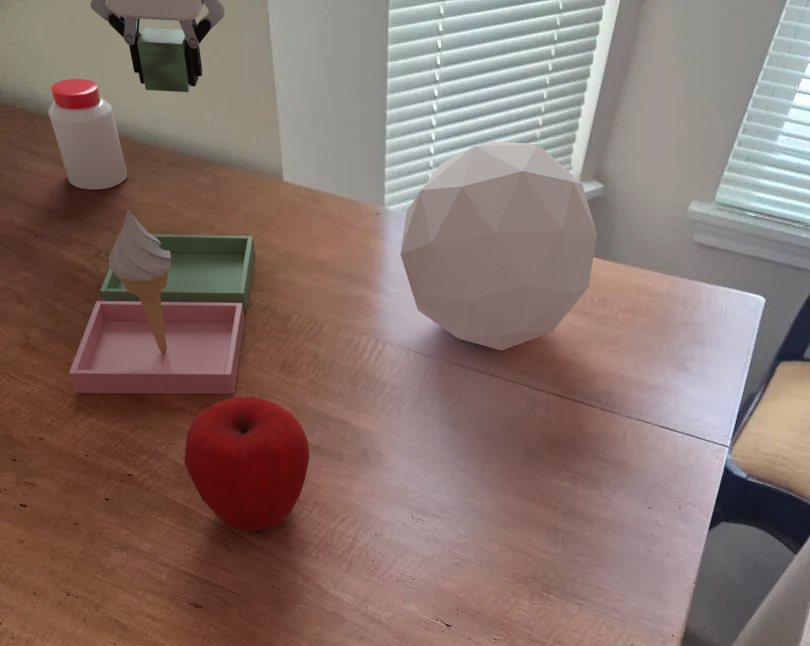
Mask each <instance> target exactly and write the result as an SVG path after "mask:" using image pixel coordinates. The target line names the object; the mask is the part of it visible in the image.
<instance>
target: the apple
mask: <svg viewBox="0 0 810 646" xmlns="http://www.w3.org/2000/svg"><path fill="white" fill-rule="evenodd" d="M185 441H186V442H185V443H186V444H185V452H184V462H183V463H184V466H185V469H186V470H187V473H188V475H189V477H190V479H191V481H192V482H193V485H194V487H195V489H196V491H197V493H198V494H199V496H200V498H201V500H202V501H203V502H204V503H205V505H207V506H208V508H209V509H211V511H212V512H213V513H214V514H215V515H216V516H217V517H218V519H220V520H221V521H222V522H224V523H226V525H228V526H230V527H232V528H237V529H241V530H249V531H251V530H265V529H268V528H270V527H273V526H276V525H278V524H281V523H282V522H283V521H284V520H285V519H286V518H287V517H288V516H289V515H290V514H291V513H292V511H293V509H294V507H295V505H296V503H297V502H298V500H299V498H300V496H301V493H302V490H303V487H304V484H305V481H306V477H307V472H308V468H309V467H308V466H309V461H310V449H309V440H308V438H307V435H306V433H305V430H304V428H303V426H302V424H301V423H300V422H299V420H297V418H296V416H294V414H292V413H291V412H290V411H289V410H287V409H285V408H284V407H282V406H280V405H279V404H277V403H275V402H272V401H270V400H268V399H263V398H259V397H256V396H253V395H252V396H234V397H231V398H227V399H223V400H220V401H217V402H216V403H214V404H213V405H211V406H209V407H207V409H205V410H203V411H202V412H200V413H198V414H196V415H195V417H194V419H193V420H192V422H191V424H190V425H189V427H188V429H187V432H186V440H185Z"/></svg>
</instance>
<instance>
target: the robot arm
mask: <svg viewBox="0 0 810 646" xmlns="http://www.w3.org/2000/svg"><path fill="white" fill-rule="evenodd" d="M204 5H205V7H206V8H207V10H208V12H206V14H205V15H204V16H202V18H201V19H200V20H199V21H198V22H197V18H198V17H199V16H200V14H201V12H202V7H203V6H204ZM90 8H91V9H92V11H94V13H95V14H97V15H99V16H100V17H101V18H102V19H103V20H104V21H106V22H108V24H109V25H110V26H111V28H113V29H114V30H115V31H116V33H118V34H119V35H120V36H121V37H122V38H123V40H124V42H125V43H126V44H127V45H128V47H129V52H130V58H131V63H132V69H133V72H134V73H135V74H138V77H139V82H140V84H141V85H145V83H144V78H143V72H142V67H141V61H140V55H139V50H138V44H137V41H138V39H139V37H140V36H141V34H142V33H140V30H141V29H140V28H141V20H155V21H156V20H157V21H173V22H175V21H176V22H178V23H179V25H180V28H181V30H183V32H184V35H185V38H186V47H185V58H186V65H187V72H188V79H189V85H191V87H196V86H197V84H198V81H199V77H202V76H203V66H202V65H203V64H202V58H201V57H202V56H201V49H200V44H201V42H202V41H203V40H204V39H205V37H206V36H207V35H208V34H209V33H210V31H211V30H212V29H213V28H214V27H215V26H216V25H217V24H218V23H219V22H220V21H221V20H222V19H223V18H224V17H225V14H226V8H225V7H224V5H223V4H222V2H221V1H220V0H91V1H90Z"/></svg>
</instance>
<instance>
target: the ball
mask: <svg viewBox="0 0 810 646" xmlns="http://www.w3.org/2000/svg"><path fill="white" fill-rule="evenodd" d="M405 214H406V215H405V221H404V228H403V235H402V241H401V247H400V248H401V249H400V255H399V256H400V258H401V260H402V261H401V262H402V264H403V267H404V270H405V274H406V278H407V280H408V283H409V287H410V291H411V293H412V296H413V299H414V302H415V303H414V304H415V305H416V309H417V311H418V312H420V313H421V314H423V315H424V316H425V317H427V318H428V319H430V320H431V321H432V322H434V323H436V324H437V325H438V326H439V327H441V328H443V329H444V330H445V331H447V332H448V333H450V334H451V335H452V336H454V337H456V339H459V340H463V341H465V342H470V343H473V344H476V345H481V346H484V347H487V348H491V349H495V350H499V351H504V350H507V349H510V348H513V347H516V346H517V345H521V344H523V343H526V342H528V341H532V340H534V339H536V338H539V337H542V336H544V335H547V334H550V333H553V332H554V331H555V330H556V328H557V327H558V326H559V324H560V323H561V322H562V321H563V319H564V318H565V317H566V316H567V315H568V313H569V312H570V311H571V310H572V308H574V307H575V305H576V303H577V302H578V301H579V300H580V298H582V296H583V295H584V294H585V293H586V291H587V290H588V289H589V287H590V282H591V275H592V268H593V263H594V257H595V250H596V244H597V238H598V233H597V229H596V226H595V223H594V220H593V216H592V212H591V209H590V205H589V202H588V199H587V196H586V192H585V187H584V184H583V182H581V181H580V180H579V179H578V178H577V177H576V176H574V174H572V173H571V172H570V171H569V170H568V169H567V168H565V167H564V166H563V165H562V164H561V162H559V161H558V160H557V159H556V158H555V157H554V156H552V155H551V154H550V153H549V152H548V151H546V150H545V149H544V147H542V146H541V145H540V144H538V143H530V142H529V143H528V142H512V141H496V140H492V141H488V142H484V143H481V144H477V145H474V146H472V147H470V148H468V149H466V150H465V151H462V152H460V153H458V154H457V155H454V156H453V157H451V158H449V159H447V160H445V161H443V162H441V163H439V165H438V166H437V168H436V169H434V171H433V173H432V174H431V176H430V177H429V178H428V180H427V181H426V182H425V184H424V185H423V186H422V188H420V190H419V191H418V194H416V196H415V198H414V199H413V201H412V203H411V204H410V206H409V207H408V208H407V210H406V213H405Z"/></svg>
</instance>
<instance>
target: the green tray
mask: <svg viewBox="0 0 810 646" xmlns="http://www.w3.org/2000/svg"><path fill="white" fill-rule="evenodd" d="M151 234H152V235H153V236H155V237H156V238H157V239H158V240H159V241H160V242H161V243H162V244H161V245H159V247H160V248H161V249H162V250H167V251H170V256H171V260H170V262H171V268H170V270H169V271H168V278H167V279H168V284H167V286H166V287H165V288H164V289H163V290H162V292H161V294H160V298H161V302H208V303H242V305H243V312H244V313H247V310H248V304H249V299H250V292H251V291H250V290H251V285H252V277H253V272H254V265H255V258H256V252H255V242H254V241H255V240H254V236H253V235H215V234H214V235H213V234H208V235H207V234H164V233H161V234H160V233H159V234H157V233H151ZM100 296H101V299H102V301H134V302H141V301H140V299H139V297H137V296H136V295H135V294H133V293H130V292H128V291H127V290H126V289H125V287H124V284H123V282H122V281H121V280H120V278H118V277H117V276H116V275H115V274H114V272H113V271H112V269H111V267H110V266H109V267H108V270H107V272H106V275H105V277H104V279H103V282H102V285H101V287H100Z"/></svg>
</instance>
